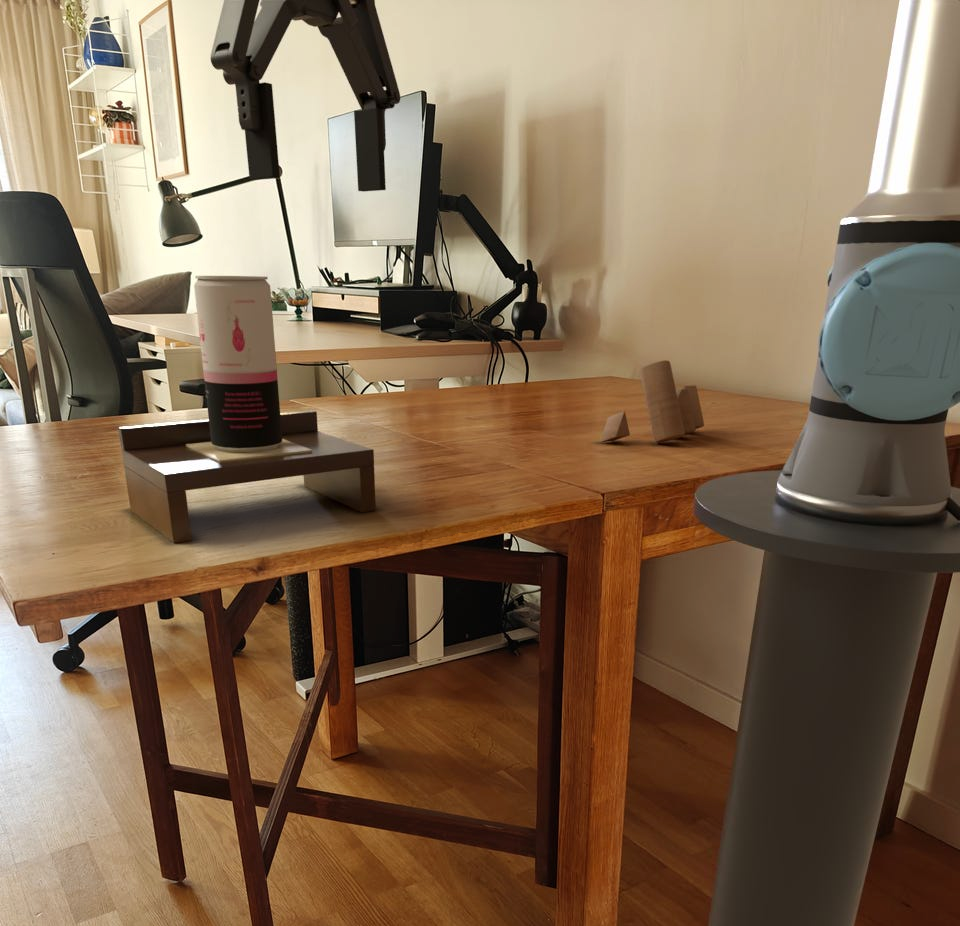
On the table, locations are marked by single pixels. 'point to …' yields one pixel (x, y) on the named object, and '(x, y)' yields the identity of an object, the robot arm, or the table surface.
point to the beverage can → (239, 362)
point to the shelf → (236, 467)
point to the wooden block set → (661, 407)
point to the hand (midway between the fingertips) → (322, 185)
